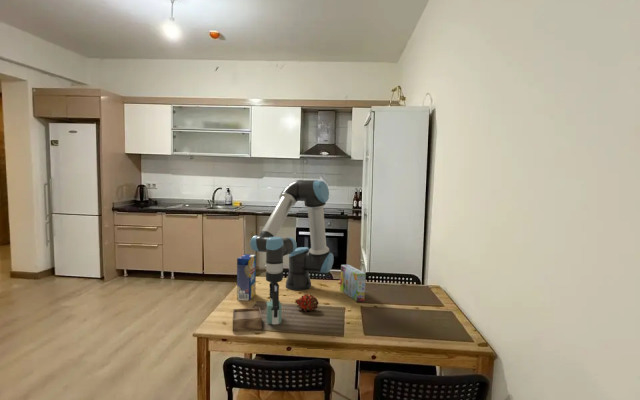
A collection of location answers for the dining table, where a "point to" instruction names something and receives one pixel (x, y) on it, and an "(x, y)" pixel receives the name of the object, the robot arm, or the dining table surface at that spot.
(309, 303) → the dragon fruit
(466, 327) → the dining table surface
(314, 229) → the robot arm
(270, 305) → the block
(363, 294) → the snack box
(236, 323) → the tray
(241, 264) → the beverage box
